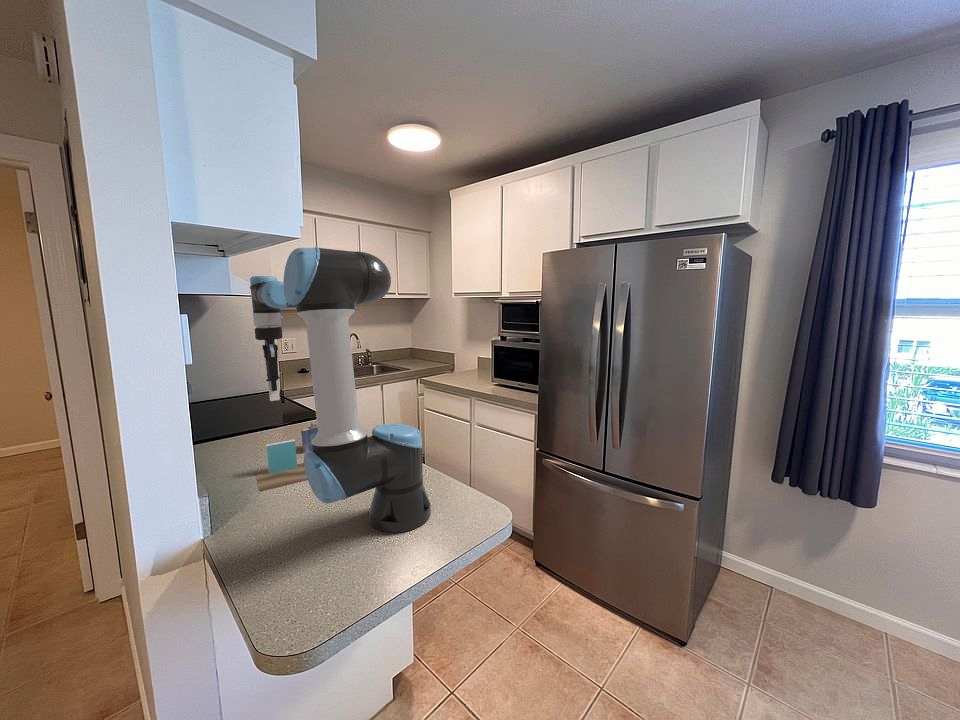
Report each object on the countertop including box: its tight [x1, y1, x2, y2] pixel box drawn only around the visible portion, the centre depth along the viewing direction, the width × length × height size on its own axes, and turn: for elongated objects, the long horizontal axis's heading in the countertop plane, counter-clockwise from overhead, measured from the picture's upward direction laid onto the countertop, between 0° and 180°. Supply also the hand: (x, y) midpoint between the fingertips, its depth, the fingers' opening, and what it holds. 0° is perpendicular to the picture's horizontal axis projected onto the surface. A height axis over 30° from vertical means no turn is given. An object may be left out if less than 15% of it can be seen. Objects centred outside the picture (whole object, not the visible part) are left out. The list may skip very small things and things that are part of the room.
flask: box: [300, 421, 318, 454], centre depth 139 cm, size 9×3×11 cm, turn 146°
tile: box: [265, 439, 298, 474], centre depth 122 cm, size 2×8×9 cm, turn 124°
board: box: [255, 462, 308, 493], centre depth 118 cm, size 14×15×1 cm
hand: (274, 399), depth 124 cm, fingers closed
